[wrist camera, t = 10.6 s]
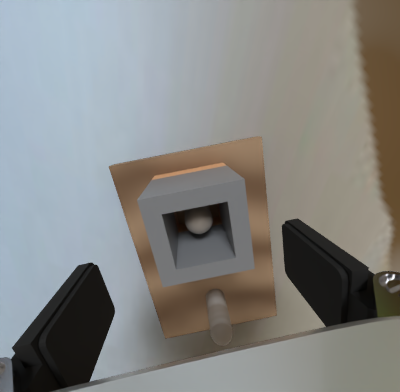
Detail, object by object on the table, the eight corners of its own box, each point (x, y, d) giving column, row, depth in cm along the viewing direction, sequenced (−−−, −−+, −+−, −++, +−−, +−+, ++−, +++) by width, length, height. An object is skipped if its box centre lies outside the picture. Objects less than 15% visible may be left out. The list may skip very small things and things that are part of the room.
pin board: (272, 306, 24) (300, 363, 18) (166, 328, 24) (160, 393, 18) (256, 136, 18) (292, 138, 12) (113, 164, 18) (77, 180, 12)
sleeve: (223, 162, 17) (244, 179, 11) (232, 224, 19) (254, 268, 13) (154, 175, 17) (137, 200, 11) (170, 237, 19) (163, 287, 13)
